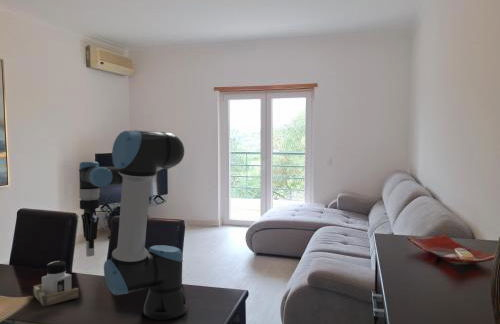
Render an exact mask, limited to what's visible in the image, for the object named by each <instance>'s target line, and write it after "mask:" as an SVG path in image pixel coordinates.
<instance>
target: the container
mask: <svg viewBox="0 0 500 324" xmlns="http://www.w3.org/2000/svg"><path fill="white" fill-rule="evenodd" d="M46 269H47V271H46V273H47V274H46V275H43V276H42V277H41V284H42V291H43V292H44V293H45V294H46V295H49V294H53V293H58V292H62V291H66V290H70V289H72V274H70V273H66V272H67V264H66V262H65V261H62V260H57V261H56V260H55V261H52V262H49V263H47V264H46Z"/></svg>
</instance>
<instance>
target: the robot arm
mask: <svg viewBox="0 0 500 324" xmlns="http://www.w3.org/2000/svg"><path fill="white" fill-rule="evenodd" d="M112 145H113V146H112V148H111V149H112V150H111V159H112V164H113V166H100V163H99V162H98V161H81V162H80V163H79V168H78V172H79V175H78V177H79V178H78V179H79V196H78V197H79V199H80V200H79V209H80V210H83V213H82V214H81V221H82V229H83V230H82V231H83V238H84V239H85V243H86V244H85V246H86V247H85V251H86V252H85V254H86V257H94V256H95V240H97V238H98V227H99V226H98V225H99V220H100V217H99V216H97V212H96V209H99V208H100V202H101V201H100V199H99V198H100V193H101V190H100V187H101V188H102V187H106V186H119V185H121V197H120V206H119V207H120V209H119V222H118V232H117V233H118V234H117V235H118V236H117V247H116V248H114V249H113V250H112V252H111V259H107V260H105V262H104V264H103V275H104V279H105V283H106V285H107V287H108V289H109V291H110V292H111V294H113V295H115V296H120V295H125V294H126V295H127V294H129V293H133V292H134V293H135V292H136V291H141V290H145V289H148V293H147V295H146V299H145V302H144V305H143V315H144V316H145V317H147V319H152V320H155V321H166V320H173V319H176V318H179V317H181V316H183V315H184V314H185V313H186V312H187V309H188V307H187V305H188V303H187V300H186V297H185V294H184V293H185V292H184V290H183V262H184V260H183V252H182V250H181V249H180V248H179V247H176V246H173V245H172V246H171V245H161V244H159V245H157V244H156V245H152V246H150V247H149V248H148V249H147V248H146V247H145V246H146V238H147V237H146V235H147V224H148V214H149V213H148V211H149V205H150V204H149V203H150V202H149V201H150V191H151V181H152V179H153V178H154V177H155V176H156V175H157V172H159V171H161V170H163V169H165V170H169V169H172V168H173V167H174V168H175V167H176V166H178V165H179V164H180V163H181V162H182V160H183V158H184V156H185V146H184V144H183V142H182V140H181V139H180V138H179V137H178V136H176V134H173V133H171V132H167V131H152V130H151V131H150V130H149V131H148V130H136V129H134V130H124V131H122V132H119V134H118V135H117V136H116V138H115V140H114V142H113V144H112Z"/></svg>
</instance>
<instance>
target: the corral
mask: <svg viewBox="0 0 500 324" xmlns="http://www.w3.org/2000/svg"><path fill="white" fill-rule="evenodd" d="M32 291H33V292H32V294H33V295H32V296H33V297H35V298H36V300H37V301H38V302H39V303H40V304H41V306H42V307H46V306H50V305H55V304H58V303H62V302H66V301H70V300H75V299H78V298H79V288H78V287H74V288H71V289H70V290H66V291H62V292H58V293H53V294H49V295H46V294H45V293H44V292H43V291H42V283H41V284H40V283H39V284H35V285H33V286H32Z"/></svg>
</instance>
